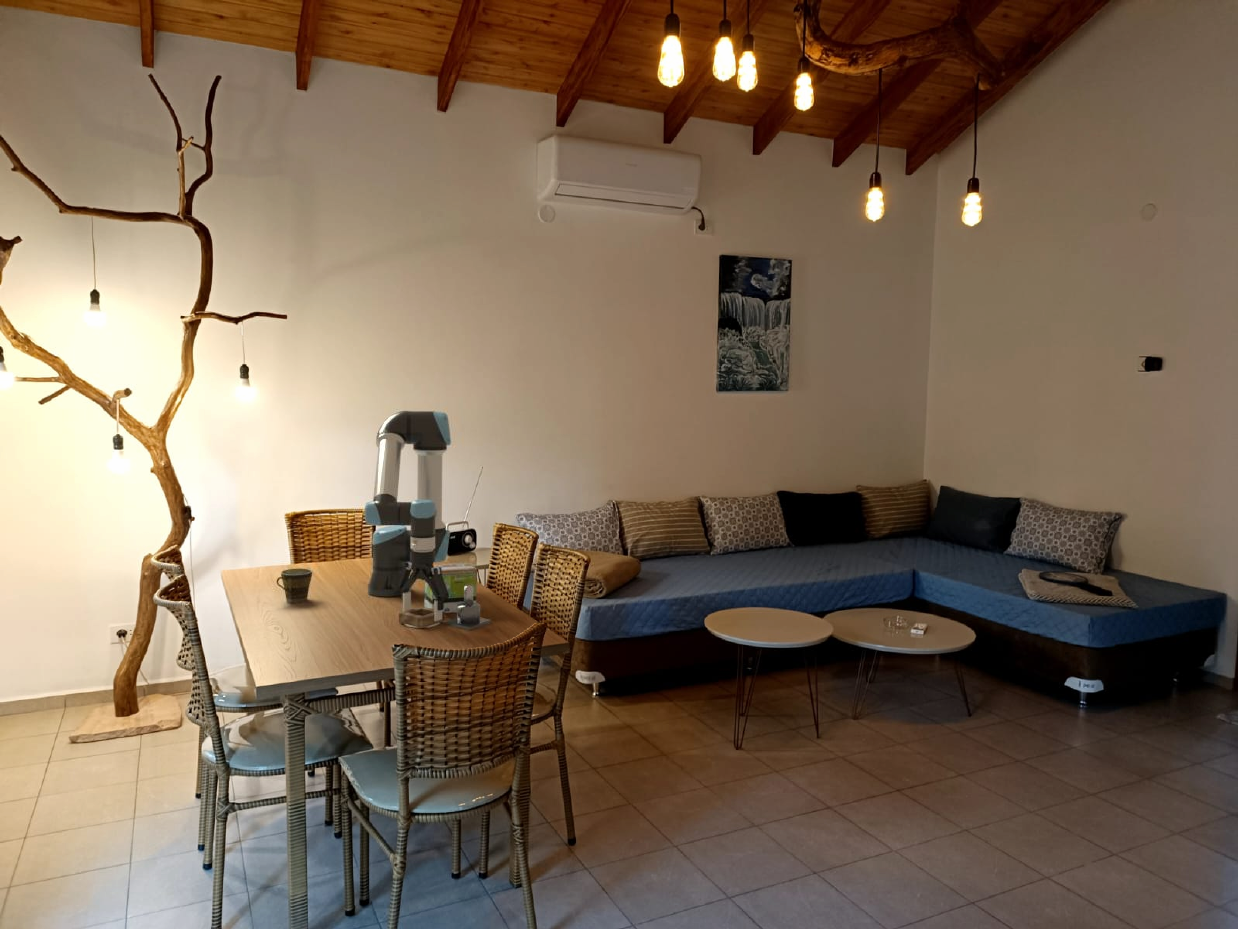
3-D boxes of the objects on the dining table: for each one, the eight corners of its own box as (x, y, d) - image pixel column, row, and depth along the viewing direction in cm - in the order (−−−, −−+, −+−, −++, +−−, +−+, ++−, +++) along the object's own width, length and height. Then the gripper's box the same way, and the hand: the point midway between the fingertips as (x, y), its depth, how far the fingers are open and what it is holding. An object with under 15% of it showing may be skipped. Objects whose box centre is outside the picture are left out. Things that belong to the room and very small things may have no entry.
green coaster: (396, 623, 269) (396, 622, 269) (422, 616, 278) (422, 614, 278) (422, 630, 263) (422, 628, 263) (447, 622, 273) (447, 620, 273)
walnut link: (398, 622, 269) (398, 613, 269) (422, 615, 278) (422, 606, 277) (422, 628, 264) (422, 618, 264) (445, 620, 272) (445, 611, 272)
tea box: (432, 615, 280) (432, 570, 278) (424, 608, 288) (424, 564, 287) (476, 611, 286) (477, 567, 285) (467, 604, 295) (468, 561, 294)
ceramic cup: (298, 595, 300) (298, 567, 299) (318, 599, 295) (318, 571, 294) (267, 603, 288) (266, 573, 287) (287, 607, 283) (287, 577, 282)
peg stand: (445, 624, 270) (445, 587, 269) (467, 617, 278) (467, 581, 277) (469, 630, 265) (470, 592, 263) (490, 623, 273) (491, 585, 272)
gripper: (385, 546, 272) (385, 612, 274) (443, 557, 259) (443, 626, 261) (403, 542, 278) (402, 607, 281) (461, 553, 265) (460, 620, 267)
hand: (422, 616), depth 271 cm, fingers open, 13 cm apart
